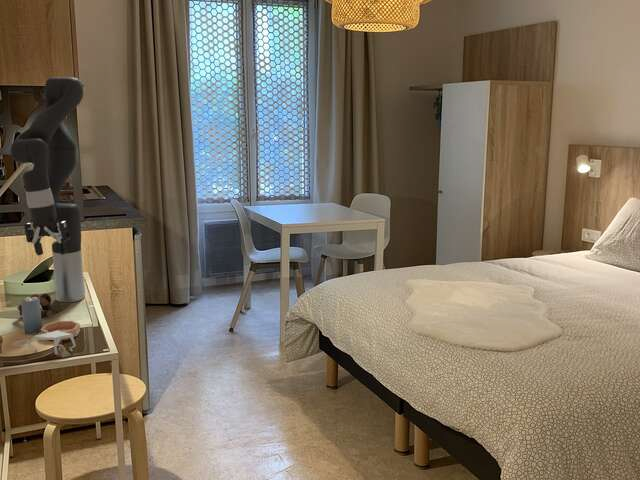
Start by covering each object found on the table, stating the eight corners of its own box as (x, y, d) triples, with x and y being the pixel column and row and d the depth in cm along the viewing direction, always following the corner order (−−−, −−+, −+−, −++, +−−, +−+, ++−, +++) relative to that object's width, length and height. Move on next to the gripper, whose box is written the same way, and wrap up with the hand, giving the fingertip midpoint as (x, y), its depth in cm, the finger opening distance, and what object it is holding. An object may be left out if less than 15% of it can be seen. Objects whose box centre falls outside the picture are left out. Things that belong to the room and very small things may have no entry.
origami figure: (73, 342, 187) (72, 326, 186) (76, 352, 180) (75, 336, 179) (28, 348, 182) (26, 332, 181) (28, 359, 175) (27, 342, 174)
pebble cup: (27, 328, 197) (24, 295, 195) (44, 328, 197) (41, 294, 195) (21, 334, 192) (18, 300, 190) (38, 334, 192) (35, 300, 190)
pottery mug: (49, 323, 203) (32, 303, 200) (25, 334, 205) (9, 314, 202) (65, 302, 213) (49, 283, 210) (42, 312, 216) (27, 293, 213)
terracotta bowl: (49, 328, 197) (48, 320, 196) (83, 328, 198) (82, 320, 197) (37, 341, 187) (37, 333, 187) (73, 340, 188) (72, 332, 188)
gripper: (68, 200, 202) (78, 250, 206) (29, 202, 205) (40, 251, 210) (53, 205, 195) (64, 257, 199) (13, 207, 198) (24, 258, 203)
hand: (51, 254), depth 204 cm, fingers open, 8 cm apart
